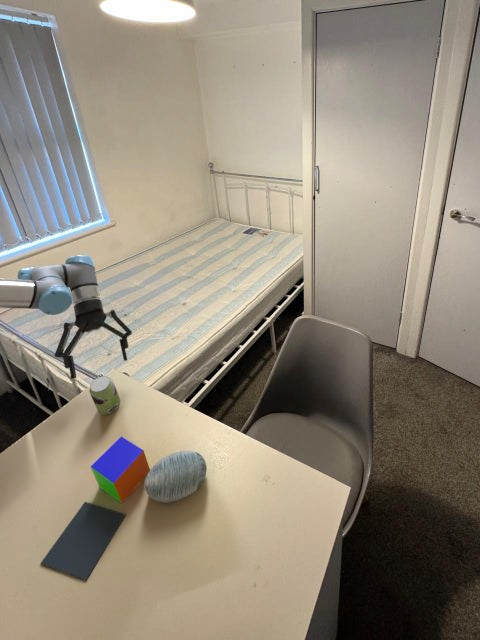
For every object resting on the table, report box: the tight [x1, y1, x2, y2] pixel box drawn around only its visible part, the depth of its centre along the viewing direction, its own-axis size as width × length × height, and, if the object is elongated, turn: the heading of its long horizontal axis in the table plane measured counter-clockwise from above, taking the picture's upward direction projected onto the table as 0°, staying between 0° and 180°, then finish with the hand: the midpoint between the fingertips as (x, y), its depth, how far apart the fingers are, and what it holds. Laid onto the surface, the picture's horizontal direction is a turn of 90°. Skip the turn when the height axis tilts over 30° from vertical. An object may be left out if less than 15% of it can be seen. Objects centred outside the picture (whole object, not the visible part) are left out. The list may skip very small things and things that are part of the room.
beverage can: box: [88, 375, 121, 416], centre depth 94 cm, size 6×7×12 cm
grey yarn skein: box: [144, 450, 208, 504], centre depth 76 cm, size 14×10×10 cm
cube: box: [90, 436, 151, 504], centre depth 77 cm, size 8×8×8 cm
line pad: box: [40, 501, 127, 581], centre depth 68 cm, size 11×11×1 cm
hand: (100, 368), depth 96 cm, fingers open, 13 cm apart
